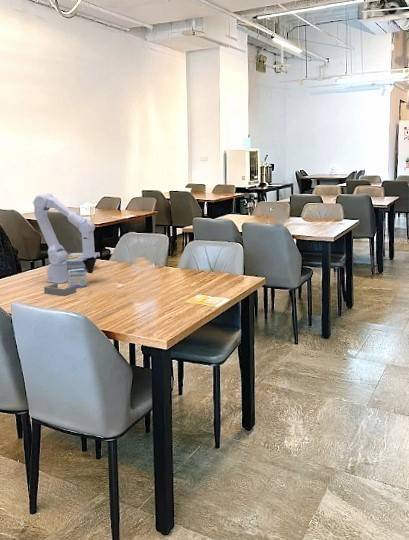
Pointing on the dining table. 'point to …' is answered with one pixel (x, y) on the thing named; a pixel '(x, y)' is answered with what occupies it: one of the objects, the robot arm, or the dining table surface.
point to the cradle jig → (59, 290)
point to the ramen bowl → (74, 261)
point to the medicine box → (77, 277)
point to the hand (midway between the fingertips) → (90, 273)
